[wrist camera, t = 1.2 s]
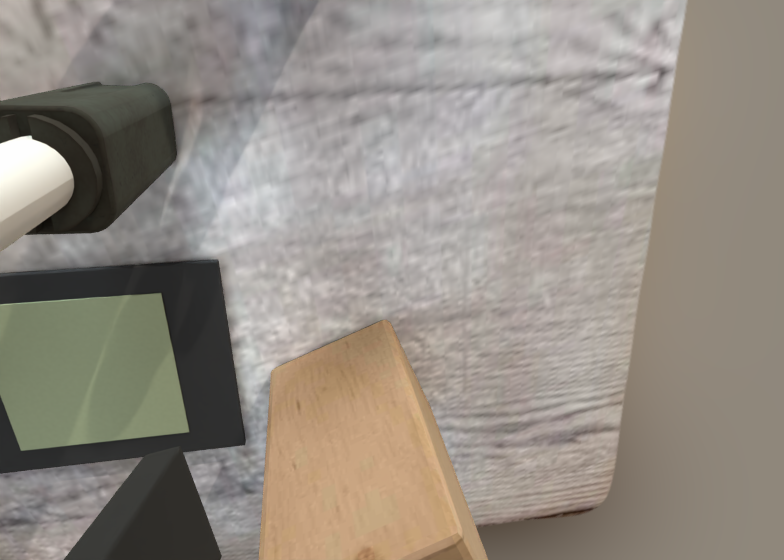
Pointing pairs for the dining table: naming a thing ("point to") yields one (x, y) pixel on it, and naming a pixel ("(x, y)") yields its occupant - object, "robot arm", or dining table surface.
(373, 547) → the wooden block
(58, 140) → the candle
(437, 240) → the dining table surface
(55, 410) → the mat
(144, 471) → the robot arm
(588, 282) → the dining table surface
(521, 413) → the dining table surface
